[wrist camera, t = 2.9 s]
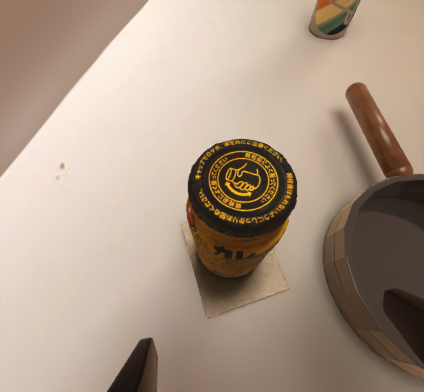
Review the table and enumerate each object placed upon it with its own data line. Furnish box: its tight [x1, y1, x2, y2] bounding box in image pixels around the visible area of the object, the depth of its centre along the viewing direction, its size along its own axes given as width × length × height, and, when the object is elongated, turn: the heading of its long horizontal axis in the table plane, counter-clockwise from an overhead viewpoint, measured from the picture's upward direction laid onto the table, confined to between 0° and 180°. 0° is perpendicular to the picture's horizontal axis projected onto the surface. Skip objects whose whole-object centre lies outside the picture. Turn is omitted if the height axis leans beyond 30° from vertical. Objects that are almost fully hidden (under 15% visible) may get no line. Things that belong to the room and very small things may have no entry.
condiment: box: [181, 139, 297, 318], centre depth 16 cm, size 7×8×12 cm
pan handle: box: [346, 82, 413, 179], centre depth 23 cm, size 12×2×2 cm, turn 5°
